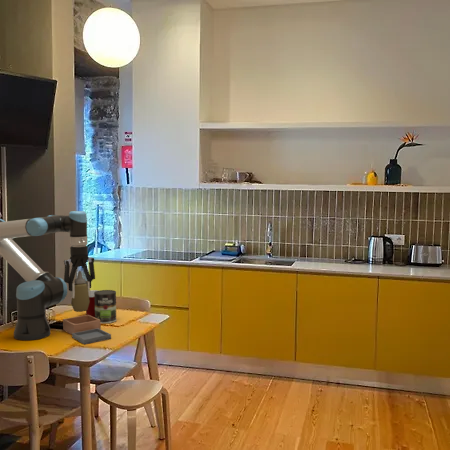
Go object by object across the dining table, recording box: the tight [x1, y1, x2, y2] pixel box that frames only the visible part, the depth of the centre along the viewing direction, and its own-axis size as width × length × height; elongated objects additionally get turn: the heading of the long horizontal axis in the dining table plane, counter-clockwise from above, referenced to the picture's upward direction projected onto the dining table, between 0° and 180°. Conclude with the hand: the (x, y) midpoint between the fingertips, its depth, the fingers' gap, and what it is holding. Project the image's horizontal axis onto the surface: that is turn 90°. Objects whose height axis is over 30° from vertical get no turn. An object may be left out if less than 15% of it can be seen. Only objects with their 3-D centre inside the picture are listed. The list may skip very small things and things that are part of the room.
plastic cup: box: [85, 289, 99, 317], centre depth 276 cm, size 11×11×12 cm
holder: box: [62, 314, 102, 335], centre depth 252 cm, size 12×12×5 cm
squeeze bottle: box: [70, 270, 90, 313], centre depth 250 cm, size 8×8×18 cm
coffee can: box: [94, 289, 117, 325], centre depth 267 cm, size 10×10×14 cm
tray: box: [71, 328, 112, 345], centre depth 240 cm, size 12×12×2 cm
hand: (80, 296), depth 250 cm, fingers closed on squeeze bottle, 6 cm apart
